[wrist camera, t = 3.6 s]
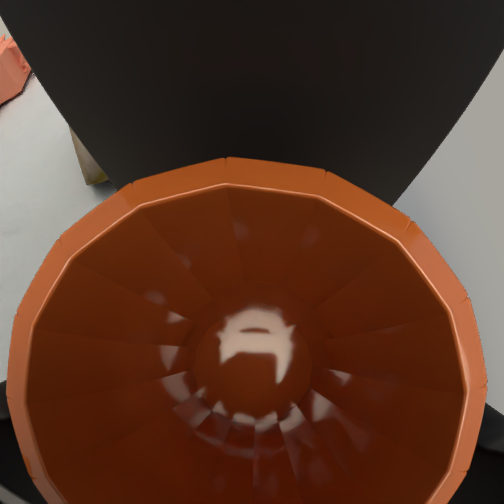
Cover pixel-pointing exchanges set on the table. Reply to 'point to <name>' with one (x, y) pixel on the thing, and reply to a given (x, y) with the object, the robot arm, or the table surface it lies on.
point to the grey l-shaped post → (261, 80)
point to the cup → (245, 348)
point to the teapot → (11, 69)
